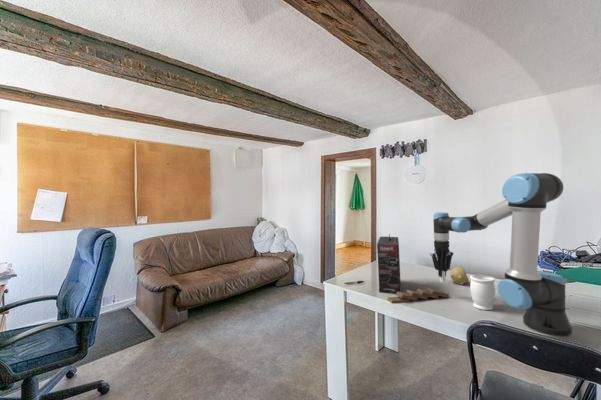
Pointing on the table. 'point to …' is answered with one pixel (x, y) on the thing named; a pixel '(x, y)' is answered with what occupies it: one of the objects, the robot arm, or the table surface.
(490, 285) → the jar
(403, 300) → the domino
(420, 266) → the table surface
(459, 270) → the yellow lumpy round lump
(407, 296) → the domino
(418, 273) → the table surface
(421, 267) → the table surface
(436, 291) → the domino
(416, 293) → the domino
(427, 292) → the domino
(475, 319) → the table surface
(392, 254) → the headset box
